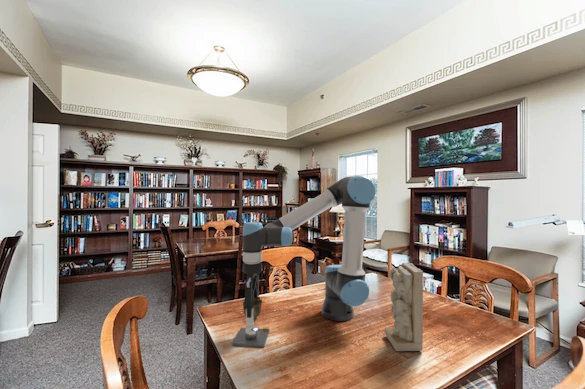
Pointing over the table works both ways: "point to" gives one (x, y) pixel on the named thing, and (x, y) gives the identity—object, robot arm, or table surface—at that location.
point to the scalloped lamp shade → (255, 308)
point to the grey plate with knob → (251, 336)
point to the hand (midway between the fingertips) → (252, 320)
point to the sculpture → (406, 308)
